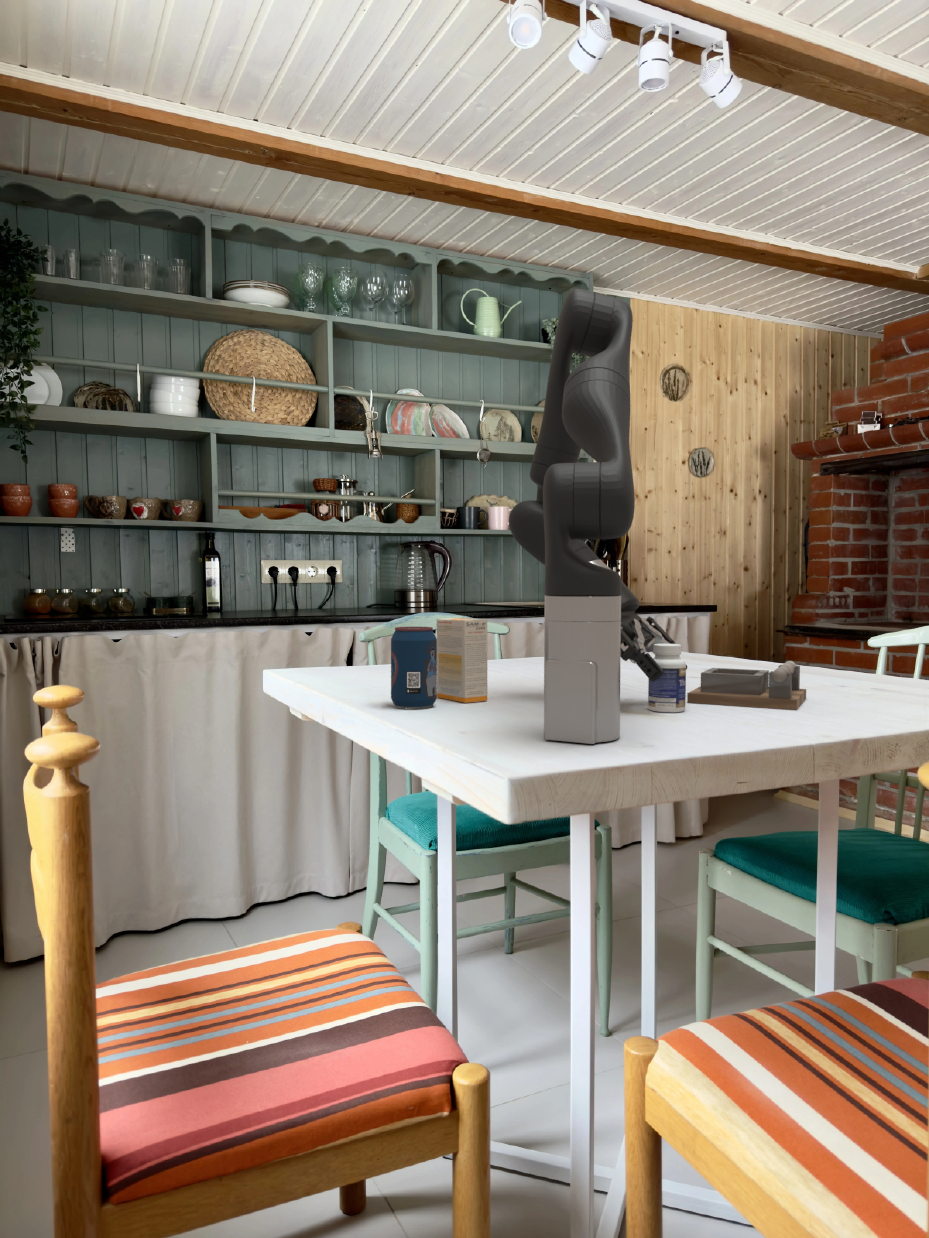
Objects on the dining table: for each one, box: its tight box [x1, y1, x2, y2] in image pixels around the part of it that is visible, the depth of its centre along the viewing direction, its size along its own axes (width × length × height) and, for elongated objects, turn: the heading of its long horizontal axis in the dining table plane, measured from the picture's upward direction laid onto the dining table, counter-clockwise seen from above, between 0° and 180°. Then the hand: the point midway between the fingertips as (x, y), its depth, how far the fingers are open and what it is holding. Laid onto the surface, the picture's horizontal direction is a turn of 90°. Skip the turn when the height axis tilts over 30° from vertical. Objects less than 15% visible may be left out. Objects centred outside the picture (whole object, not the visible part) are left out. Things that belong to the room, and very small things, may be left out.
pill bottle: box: [647, 643, 687, 713], centre depth 124 cm, size 5×5×10 cm
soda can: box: [390, 626, 438, 710], centre depth 128 cm, size 7×7×12 cm
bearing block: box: [686, 660, 807, 711], centre depth 134 cm, size 14×16×6 cm
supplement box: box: [435, 617, 488, 704], centre depth 135 cm, size 8×5×13 cm, turn 35°
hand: (671, 674), depth 124 cm, fingers open, 8 cm apart
